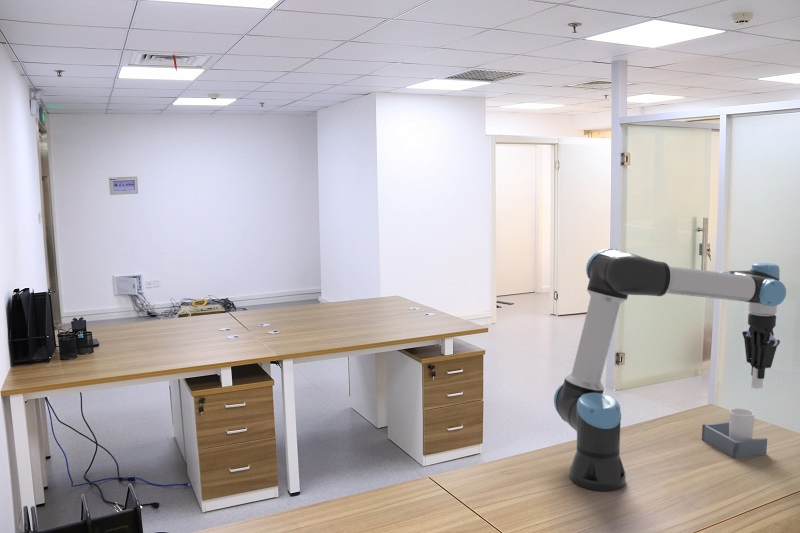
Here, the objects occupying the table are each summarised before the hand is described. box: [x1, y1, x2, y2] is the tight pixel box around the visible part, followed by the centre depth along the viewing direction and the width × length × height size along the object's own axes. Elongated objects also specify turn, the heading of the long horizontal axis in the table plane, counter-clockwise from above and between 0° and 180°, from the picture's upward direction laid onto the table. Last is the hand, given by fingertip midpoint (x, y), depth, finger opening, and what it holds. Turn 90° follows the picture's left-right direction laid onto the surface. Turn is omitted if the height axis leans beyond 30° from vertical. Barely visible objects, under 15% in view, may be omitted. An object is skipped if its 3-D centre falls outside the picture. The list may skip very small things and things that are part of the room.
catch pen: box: [701, 421, 768, 460], centre depth 207 cm, size 11×15×5 cm
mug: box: [729, 407, 755, 441], centre depth 206 cm, size 10×7×12 cm, turn 174°
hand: (756, 387), depth 206 cm, fingers closed
